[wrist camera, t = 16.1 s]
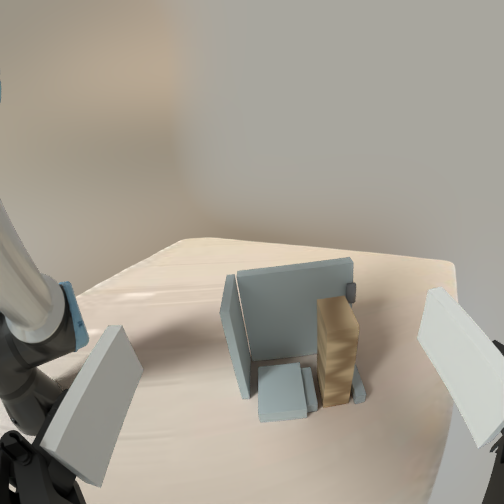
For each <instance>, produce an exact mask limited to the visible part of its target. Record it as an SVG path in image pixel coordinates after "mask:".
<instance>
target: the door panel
mask: <svg viewBox="0 0 504 504" xmlns="http://www.w3.org/2000/svg"><path fill="white" fill-rule="evenodd" d="M358 335H359V324H358V322H357V320H356V318H355V316H354V313H353V311H352V309H351V307H350V305H349V303H348V301H347V299H346V297H345V295H344V296H338V297H331V298H324V299H317V379H318V384H319V389H320V394H321V399H322V404H323V408H324V407H330V406H336V405H341V404H346V403H348V402H349V397H350V391H351V385H352V379H353V373H354V366H355V359H356V352H357V344H358Z"/></svg>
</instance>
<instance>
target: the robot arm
mask: <svg viewBox="0 0 504 504" xmlns="http://www.w3.org/2000/svg"><path fill="white" fill-rule="evenodd" d="M0 101H1V82H0ZM417 340H418V341H419V343H420V344H421V346H422V348H423V349H424V351H425V352H426V354H427V355H428V357H429V359H430V360H431V362H432V364H433V365H434V367H435V369H436V370H437V372H438V374H439V375H440V377H441V379H442V380H443V382H444V384H445V386H446V387H447V389H448V391H449V393H450V395H451V396H452V398H453V400H454V402H455V404H456V406H457V407H458V409H459V411H460V413H461V415H462V417H463V419H464V421H465V423H466V425H467V427H468V428H469V431H470V433H471V435H472V437H473V439H474V441H475V443H476V445H477V447H478V449H479V448H480V447H482V446H484V445H486V444H487V443H489V442H491V441H492V440H493V439H494V438H495V437H496V436H497V435H498V434H499V433H500V431H501V433H502V435H503V436H502V437H501V438H500V439H499V440H498V441H497V442H496V443H495V444H494V445H493V447H492V448H491V450H490V452H493V451H494V450H495V449H496V448H497V447H498V449H497V450H496V452H495V453H497V455H496V459H495V463H494V467H493V471H492V474H491V478H490V481H489V484H488V487H487V490H486V493H485V496H484V499H483V502H482V504H504V345H503V344H501V343H499V342H498V341H496V340H494V341H491V340H490V339H489V338H488V337H487V335H486V334H485V333H484V332H483V331H482V330H481V328H480V327H479V326H478V325H477V324H476V323H475V322H474V320H473V319H472V318H470V316H469V315H468V314H467V313H466V312H465V311H464V310H463V308H462V307H461V306H460V305H459V304H458V303H457V302H456V301H455V300H454V299H453V298H452V297H451V296H450V295H449V294H448V293H447V292H446V291H445V290H444V289H443V288H442V287H437V288H433V289H429V290H428V293H427V298H426V303H425V307H424V312H423V316H422V321H421V325H420V329H419V333H418V336H417ZM88 342H89V335H88V333H87V330H86V327H85V324H84V321H83V318H82V316H81V313H80V310H79V307H78V304H77V301H76V298H75V295H74V291H73V288H72V285H71V283H70V282H68V281H67V282H60V283H59V284H58V283H57V282H56V281H55V280H54V279H53V278H52V277H50V276H48V275H46V274H41V273H40V272H39V270H38V268H37V267H36V265H35V264H34V262H33V261H32V259H31V257H30V255H29V254H28V252H27V250H26V249H25V247H24V245H23V243H22V242H21V240H20V238H19V236H18V234H17V232H16V230H15V228H14V226H13V225H12V223H11V221H10V219H9V217H8V215H7V212H6V210H5V208H4V206H3V204H2V202H1V199H0V398H1V400H2V402H3V405H4V407H5V409H6V411H7V413H8V415H9V417H10V419H11V421H12V422H13V424H14V425H15V426H16V427H17V428H18V429H19V430H20V431H21V432H22V433H24V434H27V435H37V436H36V438H35V440H34V442H33V443H32V445H31V444H30V443H29V442H28V441H27V440H26V439H25V438H24V437H23V436H22V435H21V434H20V433H19V432H18V431H15V430H11V431H8V432H6V433H5V434H4V435H3V436H2V437H1V439H0V504H86V502H85V500H84V497H83V495H82V492H81V490H80V487H79V485H78V483H77V481H75V478H76V476H77V477H79V478H80V479H81V480H83V481H84V482H86V483H89V484H91V485H94V486H97V487H100V488H101V486H102V483H103V480H104V477H105V474H106V470H107V467H108V464H109V461H110V458H111V455H112V453H113V450H114V447H115V444H116V441H117V438H118V435H119V433H120V430H121V427H122V424H123V422H124V419H125V416H126V414H127V411H128V408H129V406H130V403H131V401H132V398H133V395H134V393H135V390H136V388H137V385H138V383H139V380H140V378H141V375H142V373H143V370H144V369H143V367H142V365H141V364H140V362H139V360H138V358H137V356H136V354H135V352H134V350H133V348H132V345H131V343H130V341H129V339H128V337H127V335H126V333H125V331H124V328H123V326H122V325H112V326H108V327H107V328H106V330H105V331H104V333H103V334H102V336H101V338H100V339H99V341H98V342H97V344H96V345H95V347H94V349H93V350H92V352H91V353H90V355H89V357H88V358H87V360H86V361H85V363H84V365H83V366H82V368H81V370H80V371H79V373H78V375H77V376H76V378H75V380H74V382H73V383H72V385H71V387H70V389H65V390H64V391H62V390H61V388H60V387H59V386H58V384H57V383H56V382H55V381H53V380H52V379H51V378H49V377H48V376H47V375H46V374H44V373H43V372H42V371H41V370H39V369H38V368H37V366H39V365H42V364H44V363H47V362H49V361H52V360H54V359H57V358H59V357H61V356H64V355H66V354H69V353H71V352H77V350H78V349H80V348H82V347H84V346H86V345H87V344H88ZM9 483H10V484H11V485H12V486H14V487H15V488H16V492H15V493H14V492H13V491H11V490H10V489H9Z"/></svg>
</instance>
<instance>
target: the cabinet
mask: <svg viewBox="0 0 504 504" xmlns="http://www.w3.org/2000/svg"><path fill="white" fill-rule="evenodd" d="M237 282H238V287H239V292H240V298H241V303H242V308H243V314H244V319H245V324H246V329H247V334H248V340H249V345H250V350H251V355H252V360H253V361H261V360H271V359H280V358H289V357H297V356H304V355H312V354H317V299H324V298H331V297H338V296H344V295H345V297H346V299H347V301H348V303H349V305H350V307H351V309H352V303H354V302H355V297H356V284H355V283H353V261H352V260H351V258H350V257H347V258H339V259H332V260H324V261H316V262H308V263H300V264H292V265H284V266H276V267H268V268H259V269H251V270H242V271H237ZM220 317H221V321H222V325H223V329H224V333H225V337H226V340H227V344H228V348H229V352H230V356H231V360H232V363H233V367H234V371H235V374H236V378H237V382H238V385H239V389H240V392H241V396H242V399H250V367H251V357H250V352H249V347H248V342H247V337H246V332H245V327H244V322H243V316H242V311H241V306H240V301H239V296H238V290H237V285H236V280H235V274H233V275H227V277H226V282H225V287H224V292H223V297H222V302H221V308H220ZM351 393H352V396H353V399H354V403H355V404H357V403H362V402H365V398H366V392H365V389H364V386H363V383H362V381H361V378H360V375H359V372H358V369H357V367H356V364H355V366H354V373H353V379H352V385H351ZM317 405H318V404H317V398H316V393H315V388H314V383H313V377H312V372H311V367H307V368H300V362H298V363H290V364H282V365H272V366H262V367H258V415H259V419H260V422H272V421H283V420H292V419H300V418H307V412H313V411H317Z"/></svg>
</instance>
